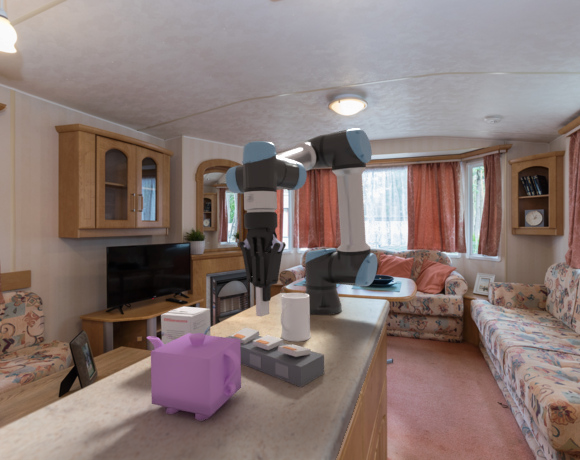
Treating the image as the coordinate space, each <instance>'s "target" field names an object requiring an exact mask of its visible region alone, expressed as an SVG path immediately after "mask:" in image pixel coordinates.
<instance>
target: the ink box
mask: <svg viewBox="0 0 580 460" xmlns="http://www.w3.org/2000/svg"><path fill="white" fill-rule="evenodd" d="M160 325H161V326H160V327H161V331H160V332H161V341H162V342H163V344H164V345H165V344H167V343H169V342H171V341H173V340H175V339H177V338H179V337H181V336H184V335H186V334H188V333H191V334H195V333H203V334H205V335H208V336H211V308H205V307H196V306H195V307H193V306H180V307H177V308H174V309H171V310H169V311H167V312H165V313H161V315H160Z"/></svg>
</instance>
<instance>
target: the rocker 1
mask: <svg viewBox="0 0 580 460" xmlns="http://www.w3.org/2000/svg"><path fill="white" fill-rule="evenodd" d="M230 336H231V338H233V339H240V343H243V344H245V343H247V342H249V341H250V340H252V339H253V338H255V337H257V336H261V334H260V330H256V329H254V328H250V327H246V326H245V327H243V328H242V329H240V330H238V331H236V332H235V333H233V334H231V335H230Z"/></svg>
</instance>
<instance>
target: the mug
mask: <svg viewBox="0 0 580 460" xmlns="http://www.w3.org/2000/svg"><path fill="white" fill-rule="evenodd" d="M310 315H311V314H310V305H309V294H306V293H305V292H287V293H284V294H281V314H280V324H281V339H283V341H288V342H304V341H307V340H309V339H310V338H311V336H312V334H311V318H310V317H311V316H310Z"/></svg>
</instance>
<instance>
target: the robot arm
mask: <svg viewBox="0 0 580 460" xmlns="http://www.w3.org/2000/svg"><path fill="white" fill-rule="evenodd" d="M242 151H243V152H242V161H241V162H242V165H239V164H238V165H236V166H233V167H229V168H228V169H227V171H226V173H225V179H224V180H225V184H226V187H227V189H228V190H229V191H230V192H231V193H233V194H241V195H242V194H243V209H244V211H246V212H245V213H244V214H243V219H244V220H243V221H244V222H243V223H244V224H243V226H244V228H245V229H246V230H247V233H246V236H245V237H246V238H245V239H244V241H239V243H238V245H239V248H240V250H241V252H242V258H243V262H244V263H243V264H244V269H245V274H246V279H247V280H246V281H247V282H248V283H251V284H252V286H253V291H254V294H253V295H254V300H255V312H256V313H255V314H256V316H257V317H265V316H267V315H270V301H271V298H272V296H271V287H272V286H273V285H274V286H275V285H277V284H278V282H279V277H280V276H279V275H280V270H281V264H282V263H281V262H282V258H283V252H284V250H285V248H286V243H285V242H283V241H282V242H281V241H280V240H279V239H278V236H277V235H278V234H277V232H276V229H277V228H278V213H277V212H276V211H277V210H278V192H277V191H279V190H287V191H297V190H299V189H301V188H302V187H303V186H305V183H306V181H307V175H308V174H307V171H310V170H313V169H325V168H326V169H327V168H331V171H332V173H333V174H334V175H335V176H336V182H337V183H336V184H337V185H336V186H337V187H336V188H337V198H338V199H337V200H338V201H337V202H338V217H339V229H340V230H339V232H340V245H339V246H338V247H337V248H335V247H333V248H322V249H316V250H315V249H314V250H310V251H307V252H306V254H305V261H304V265H305V292H304V293H306V294H309V305H310V315H319V316H320V315H323V316H325V315H326V316H327V315H333V314H335V315H336V314H338V313H341V312H342V311H343V310H342V308H343V307H342V303H341V299H340V296H339V292H338V290H337V289H338V286H337V285H345V286H346V285H347V286H355V287H369V286H370V285H371V284H373V282H374V280H375V277H376V275H377V269H378V258H377V254H375V253H373V252H371V251H372V250H371V246H370V245H369V244H368V243H367V240H366V222H365V207H364V206H365V205H364V204H365V203H364V190H363V189H364V188H363V186H364V185H363V173H364V171H365V170H367V164H368V163H369V162H370V161H371V160H372V156H373V152H372V145H371V142H370V139H369V137H368V135H367V133H366V132H365V131H364V129H361V128H358V127H357V128H348V129H344V130H338V131H334V132H330V133H324V134H319V135H317V136H314V137H313V138H310V139H307V140H305V141H303V142H300V143H297V144H296V145H295V146H294V147H293V148H292V149H288V150H286V151H282V152H279V153H277V148H276V145H275V143H273V142H271V141H264V140H262V141H261V140H257V141H250V142H247V143H246V144H245V145H244V146H243V150H242Z"/></svg>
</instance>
